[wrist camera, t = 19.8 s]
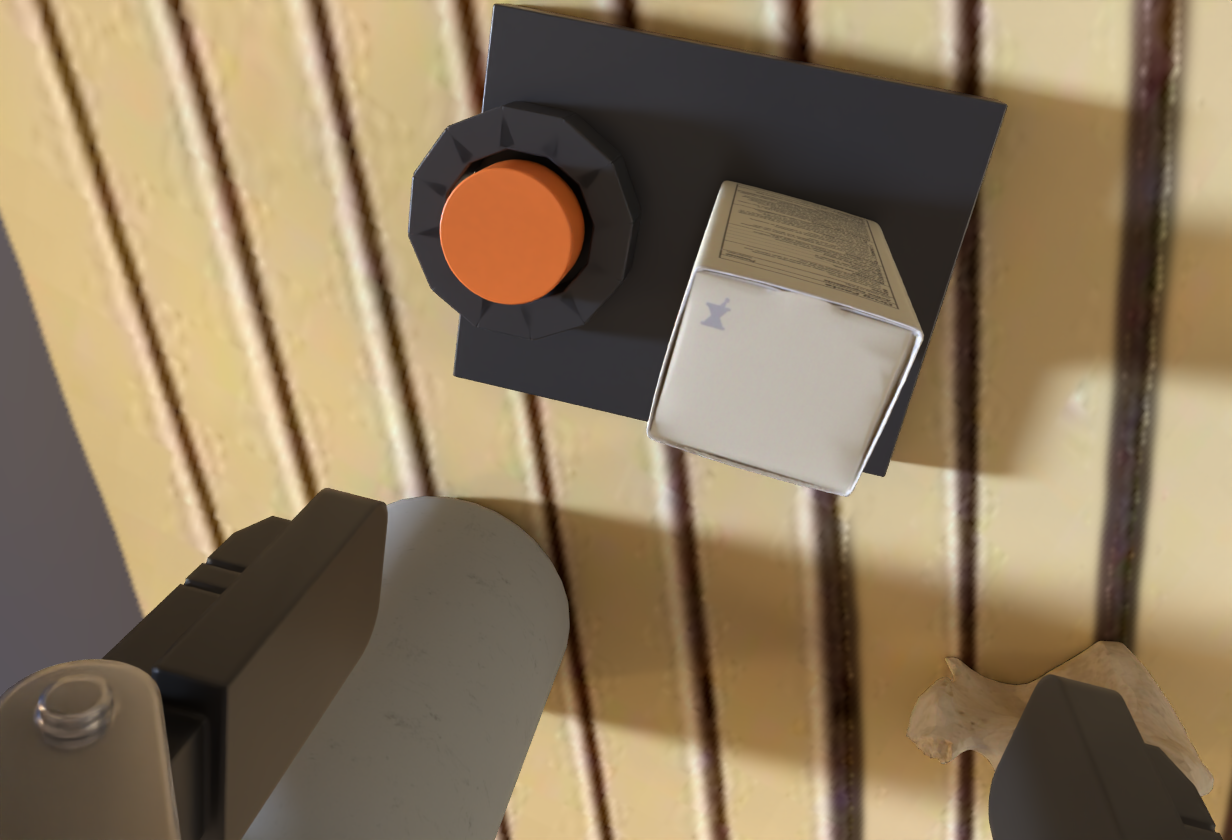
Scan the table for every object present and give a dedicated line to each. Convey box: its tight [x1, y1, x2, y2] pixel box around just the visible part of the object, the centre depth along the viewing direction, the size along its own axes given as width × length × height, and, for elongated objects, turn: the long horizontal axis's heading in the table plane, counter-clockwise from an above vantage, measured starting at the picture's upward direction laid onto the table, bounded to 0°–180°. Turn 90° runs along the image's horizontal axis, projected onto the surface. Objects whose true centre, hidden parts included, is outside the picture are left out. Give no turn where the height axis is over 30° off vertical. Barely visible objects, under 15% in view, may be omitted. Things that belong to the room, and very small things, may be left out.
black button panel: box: [408, 4, 1007, 477], centre depth 30 cm, size 16×12×3 cm
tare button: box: [440, 159, 585, 305], centre depth 29 cm, size 4×4×2 cm
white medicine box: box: [646, 181, 924, 497], centre depth 25 cm, size 5×4×10 cm
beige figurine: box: [906, 641, 1213, 796], centre depth 32 cm, size 9×6×10 cm
